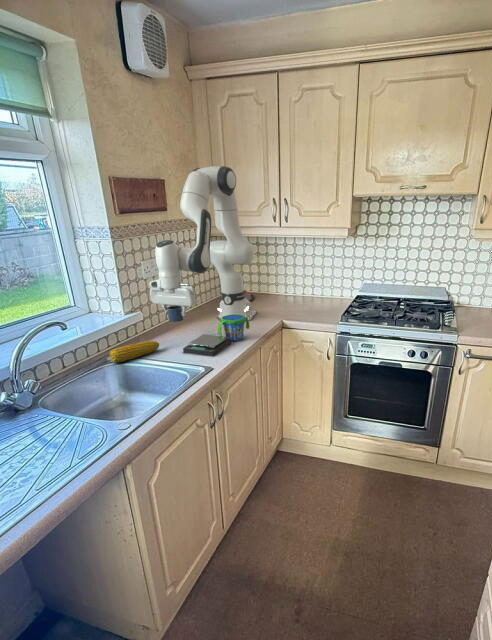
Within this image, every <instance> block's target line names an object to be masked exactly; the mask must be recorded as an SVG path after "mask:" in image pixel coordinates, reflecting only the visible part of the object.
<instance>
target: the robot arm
mask: <svg viewBox="0 0 492 640" xmlns="http://www.w3.org/2000/svg"><path fill="white" fill-rule="evenodd" d="M236 186H237V176H236V174H235V172H234V170H233V169H232V168H231V167H228V166H218V165H217V166H214V165H212V166H211V165H209V166H206V167H197V168H194V169H192V171H191V172H189V173H188V175H187V177H186V180H185V183H184V185H183V189H182V192H181V195H180V196H181V197H180V203H179V208H180V211H181V213H182V214H183V215H184V217H185V218H186V219H188V220H190V221H191V222H193V223H195V224H196V227H197V228H196V229H197V231H196V244H195V245H194V247H187V246H181V245H178V244H176V243H175V241H174V240H171V239H167V240H162V241H159V242H157V243H156V244H155V249H154V250H155V251H154V252H155V253H154V254H155V263H156V267H157V269H158V278H156V279H154V280H152V281H150V282H149V283H148V284H149V287H150V289H149V295H150V296H149V297H150V301H151V303H152V304H154V305H160V306H161V308H162V309H163V310H164V314H165V315H167V316H168V311H167V308H168V306H182V309H183V310H182V311H181V312H180V313H181V316H184V317H185V316H186V315H187V313H186V311H187V309H188V307H194V306H195V305H196V304H197V299H196V294H195V290H194V286H193V285H192V284H191V283H190V282H189V283H185V282H182V274H181V271H183V272H191V273H195V274H204V273H205V272H207V270H208V269H210V266H211V265H213V266H214V268H215V269H216V271H217V273H218V276H219V280H220V289H221V292H220V299H221V300H220V302H219V307H217V311H219V314H218V315H217V318H219V319H220V320H221V318H222V317H223V316H226V315H233V314H237V315H243V316H245V317H246V318H247V319H248V321H252V319H253V318H254V317H255V316H256V314H257V310H255V309H253V307H252V301H253V300H254V294H253V293H251V294H250V296H251V298H250V299H249V300H248V298H246V295H247V294H248V291H247V289H244V282H243V281H244V280H243V275H242V274H241V273H240V272H239V271H237V270H236V269H235V268H234V266H233V265H247V264H251V263H252V262H253V260H254V258H255V248H254V246H253V244H252V243H251V242H249V241H248V240H247V239H246V237H245V236H244V233H243V232H242V230H241V226H240V219H239V211H238V201H237V196H236V192H235V189H236ZM210 195H211V196H213V214H214V215H213V216H214V222H215V227H216V230H218V232H219V233H222V234H223V235H224V237H225V238H226V240H223V239H222V240H221V239H220V240H219V239H217V240H211V238H212V237H211V236H212V216H211V213H210V212H209V211H208V205H209V200H210ZM245 321H246V319H245Z"/></svg>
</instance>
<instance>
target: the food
mask: <svg viewBox="0 0 492 640" xmlns="http://www.w3.org/2000/svg"><path fill="white" fill-rule="evenodd" d="M159 347H160V342H158V341H156V340H146V341H141V342H135V343H130V344H128V345H124V346H118V347H116V348H113V349H111V350H110V351H109V353H108V355H109V359H110V362H112V363H115V364H116V363H122V362H126V361H130V360H133V359H136V358H139V357H142V356H144V355H149V354H150V353H154V352H155V351H156V350H158V349H159Z"/></svg>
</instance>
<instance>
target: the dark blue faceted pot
mask: <svg viewBox="0 0 492 640" xmlns="http://www.w3.org/2000/svg"><path fill="white" fill-rule="evenodd" d="M182 310H183V308H182V306H178V305H169V306H167V311H168V315H167V316H168V321H169V322H171V323H178V322H182V321H184V320H185V316H181V313H180V312H181V311H182Z"/></svg>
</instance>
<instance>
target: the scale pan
mask: <svg viewBox="0 0 492 640" xmlns="http://www.w3.org/2000/svg"><path fill="white" fill-rule="evenodd" d="M227 338H228V337H226V335H222V336H221V335H216V334H207V333H203V334H201V335H199V336H197V337H196V338H195V339H193V340H191V341H189V342H188V343H187V346H188V345H190V346H198V347H207V348H214V347H216V346H217V345H219V344H220V343H222V342H223V341H224V340H226V339H227Z"/></svg>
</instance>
